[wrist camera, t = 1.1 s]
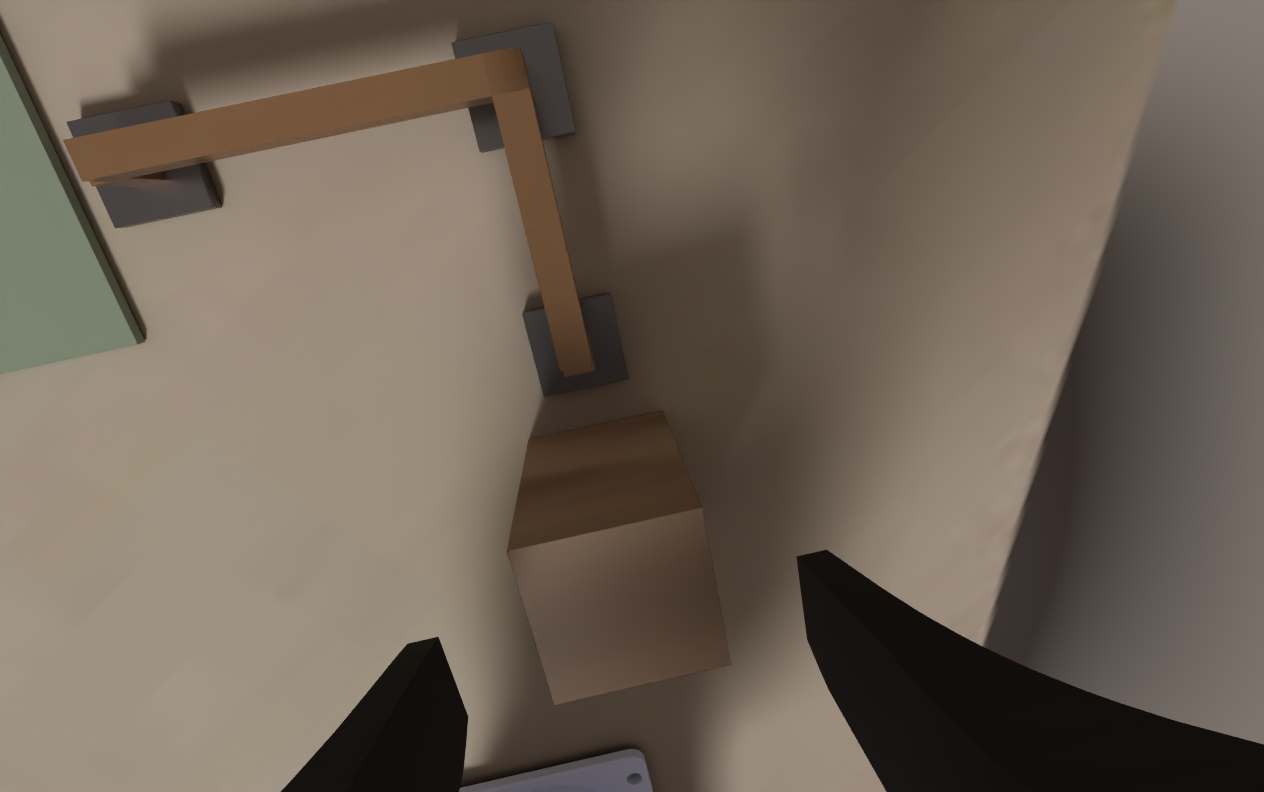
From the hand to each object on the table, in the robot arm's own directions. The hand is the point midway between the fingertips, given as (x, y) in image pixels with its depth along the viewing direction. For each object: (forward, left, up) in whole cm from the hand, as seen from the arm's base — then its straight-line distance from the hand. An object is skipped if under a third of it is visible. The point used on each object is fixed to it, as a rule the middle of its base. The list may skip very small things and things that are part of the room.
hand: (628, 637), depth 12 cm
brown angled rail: (+8, +4, -7) cm, 11 cm away
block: (0, 0, -7) cm, 7 cm away
